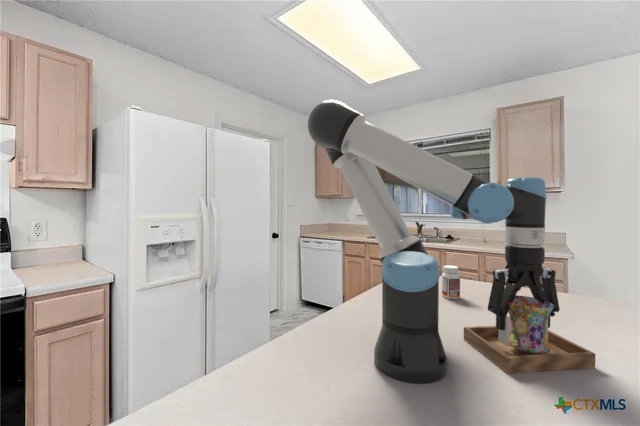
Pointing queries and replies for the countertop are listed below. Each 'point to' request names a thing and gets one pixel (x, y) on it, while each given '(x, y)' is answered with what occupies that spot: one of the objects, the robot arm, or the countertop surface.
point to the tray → (517, 361)
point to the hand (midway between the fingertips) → (522, 342)
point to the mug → (529, 324)
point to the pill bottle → (451, 282)
